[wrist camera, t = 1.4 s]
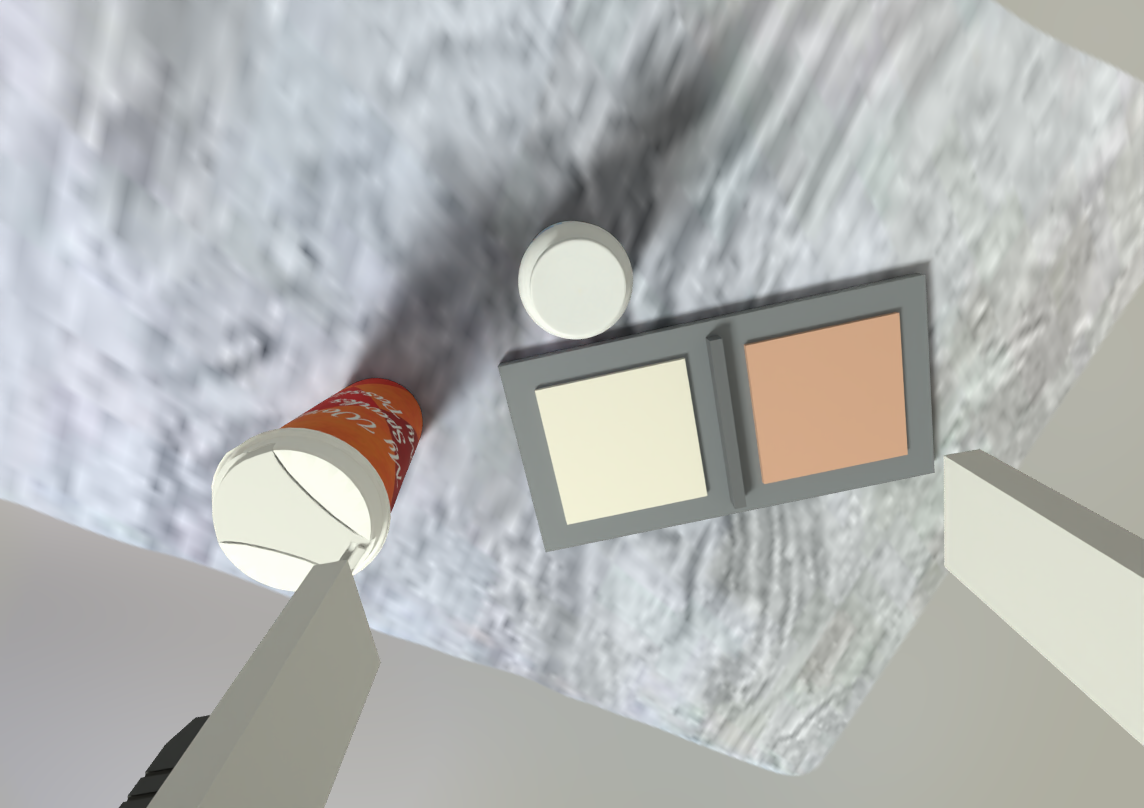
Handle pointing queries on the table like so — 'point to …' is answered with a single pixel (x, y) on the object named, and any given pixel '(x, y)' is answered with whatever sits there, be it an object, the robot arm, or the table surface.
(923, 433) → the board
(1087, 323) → the table surface
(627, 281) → the pill bottle
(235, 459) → the coffee cup
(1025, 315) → the table surface
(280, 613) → the robot arm
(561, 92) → the table surface
